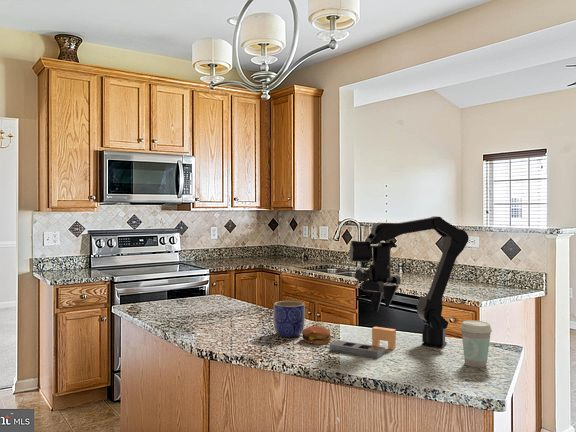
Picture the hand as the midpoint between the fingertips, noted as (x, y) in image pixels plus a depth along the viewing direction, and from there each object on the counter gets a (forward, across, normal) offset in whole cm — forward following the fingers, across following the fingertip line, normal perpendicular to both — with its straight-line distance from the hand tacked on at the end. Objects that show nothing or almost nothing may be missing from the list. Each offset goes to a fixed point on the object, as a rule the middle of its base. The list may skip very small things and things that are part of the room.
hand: (381, 309), depth 167 cm
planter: (+12, +6, -33) cm, 35 cm away
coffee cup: (+12, +3, +30) cm, 33 cm away
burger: (+12, +7, -20) cm, 25 cm away
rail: (+12, +11, -3) cm, 17 cm away
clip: (+12, +1, +1) cm, 12 cm away
